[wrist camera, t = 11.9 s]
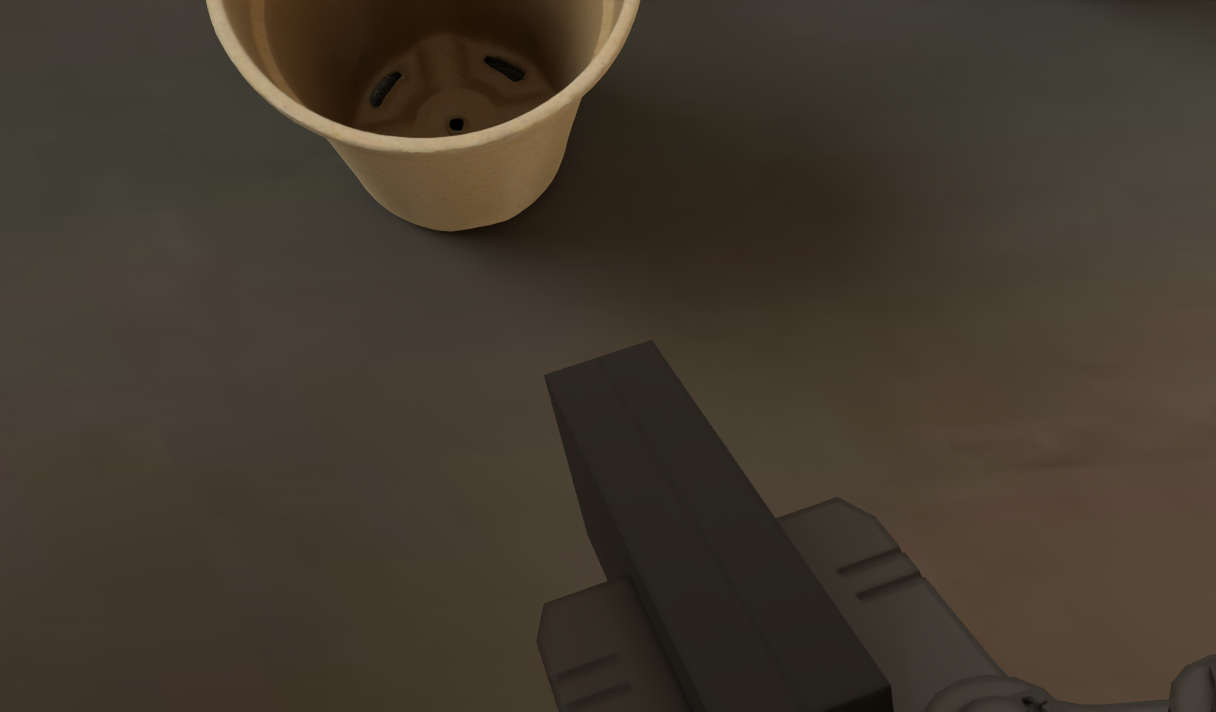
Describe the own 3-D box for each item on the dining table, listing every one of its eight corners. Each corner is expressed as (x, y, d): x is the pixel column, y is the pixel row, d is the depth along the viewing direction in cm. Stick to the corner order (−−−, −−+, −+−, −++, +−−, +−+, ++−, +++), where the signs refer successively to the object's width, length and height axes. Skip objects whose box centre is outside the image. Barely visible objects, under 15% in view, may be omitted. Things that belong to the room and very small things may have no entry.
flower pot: (598, 315, 31) (613, 181, 23) (258, 265, 31) (151, 113, 23) (642, 18, 34) (671, -197, 26) (329, -28, 34) (256, -259, 26)
